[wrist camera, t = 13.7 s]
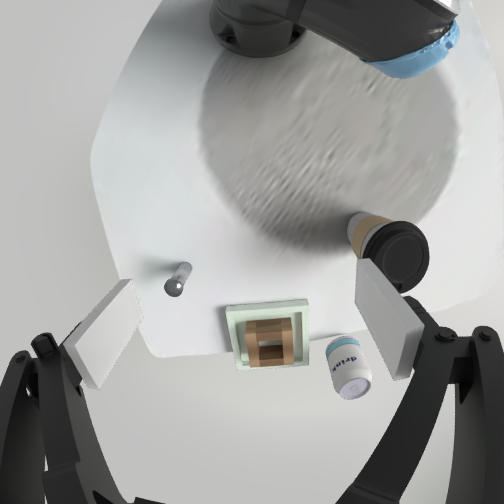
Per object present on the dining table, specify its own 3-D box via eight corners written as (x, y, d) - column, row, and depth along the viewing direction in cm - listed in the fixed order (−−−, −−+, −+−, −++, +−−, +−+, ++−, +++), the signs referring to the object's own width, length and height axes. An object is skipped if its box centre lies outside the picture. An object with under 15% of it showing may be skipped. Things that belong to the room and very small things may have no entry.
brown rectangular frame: (246, 320, 49) (244, 334, 46) (290, 317, 49) (292, 330, 45) (252, 359, 53) (251, 373, 49) (292, 356, 52) (294, 370, 48)
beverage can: (348, 327, 50) (366, 369, 39) (362, 347, 52) (379, 388, 40) (318, 345, 52) (328, 389, 40) (334, 363, 53) (345, 406, 42)
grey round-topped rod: (176, 260, 46) (162, 280, 39) (192, 259, 46) (179, 279, 39) (180, 275, 47) (166, 297, 40) (195, 274, 47) (184, 296, 40)
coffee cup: (343, 263, 45) (373, 310, 31) (329, 210, 42) (359, 240, 28) (392, 245, 44) (436, 284, 30) (381, 193, 41) (430, 215, 27)
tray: (226, 305, 49) (225, 311, 47) (307, 299, 48) (308, 305, 46) (237, 363, 54) (237, 370, 52) (307, 358, 53) (308, 365, 51)
